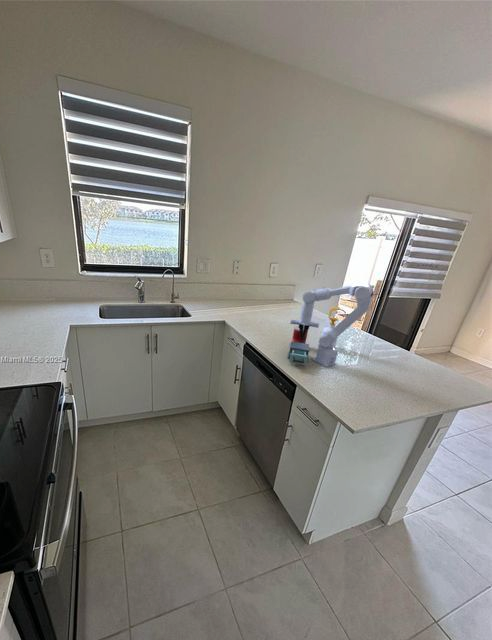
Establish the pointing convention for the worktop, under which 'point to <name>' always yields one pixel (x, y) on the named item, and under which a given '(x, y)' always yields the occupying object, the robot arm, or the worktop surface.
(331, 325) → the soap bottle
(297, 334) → the canned food
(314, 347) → the worktop surface
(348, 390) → the worktop surface
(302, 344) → the dispenser
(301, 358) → the detergent tray
